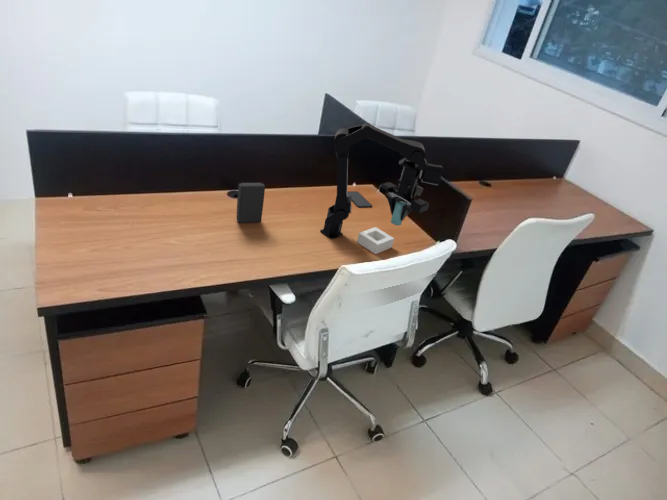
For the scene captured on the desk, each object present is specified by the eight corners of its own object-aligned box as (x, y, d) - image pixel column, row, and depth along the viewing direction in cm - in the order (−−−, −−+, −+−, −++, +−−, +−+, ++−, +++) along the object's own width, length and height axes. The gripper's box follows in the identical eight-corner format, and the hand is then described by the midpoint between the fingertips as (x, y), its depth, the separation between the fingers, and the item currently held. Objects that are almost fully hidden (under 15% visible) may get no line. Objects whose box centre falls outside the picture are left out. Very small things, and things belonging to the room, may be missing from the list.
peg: (396, 226, 173) (402, 206, 169) (388, 221, 176) (394, 202, 171) (403, 223, 176) (409, 204, 172) (395, 219, 178) (400, 199, 174)
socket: (375, 254, 173) (377, 244, 171) (356, 242, 178) (358, 232, 176) (391, 247, 179) (394, 238, 177) (373, 235, 184) (375, 226, 182)
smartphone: (357, 191, 217) (373, 205, 206) (357, 192, 218) (372, 207, 206) (343, 191, 214) (358, 206, 203) (342, 193, 214) (357, 208, 203)
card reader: (259, 217, 181) (263, 181, 173) (262, 223, 178) (266, 186, 170) (235, 218, 177) (238, 181, 170) (237, 224, 174) (240, 186, 167)
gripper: (443, 186, 167) (430, 224, 175) (402, 165, 177) (391, 202, 185) (425, 191, 160) (412, 231, 168) (383, 169, 170) (373, 208, 178)
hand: (397, 217), depth 175 cm, fingers closed on peg, 4 cm apart
